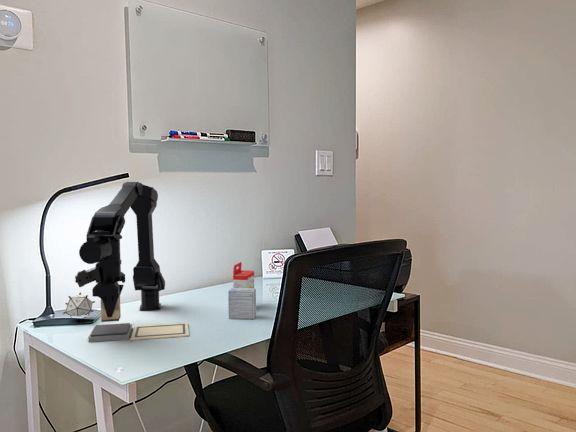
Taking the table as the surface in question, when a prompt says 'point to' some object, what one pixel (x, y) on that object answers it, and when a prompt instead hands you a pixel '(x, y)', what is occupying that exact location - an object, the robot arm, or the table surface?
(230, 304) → the medicine box
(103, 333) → the ink pad
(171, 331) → the card sheet
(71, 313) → the game die
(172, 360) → the table surface
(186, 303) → the table surface
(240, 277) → the ink box
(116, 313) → the stamp
